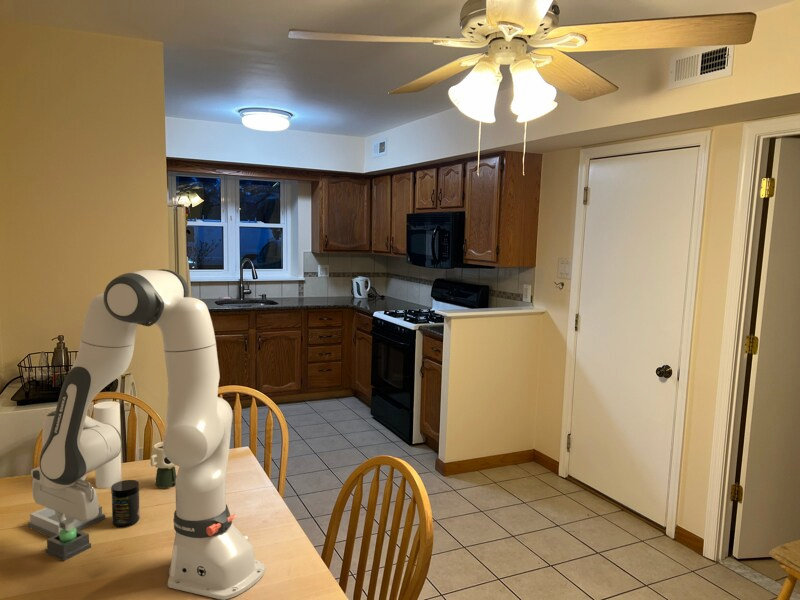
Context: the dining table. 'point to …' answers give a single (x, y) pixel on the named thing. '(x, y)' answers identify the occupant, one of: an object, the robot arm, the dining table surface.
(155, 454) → the character mug
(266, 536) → the dining table surface
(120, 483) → the supplement container
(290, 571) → the dining table surface
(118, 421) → the cylindrical container
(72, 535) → the button
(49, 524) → the square shallow tray
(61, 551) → the button housing
